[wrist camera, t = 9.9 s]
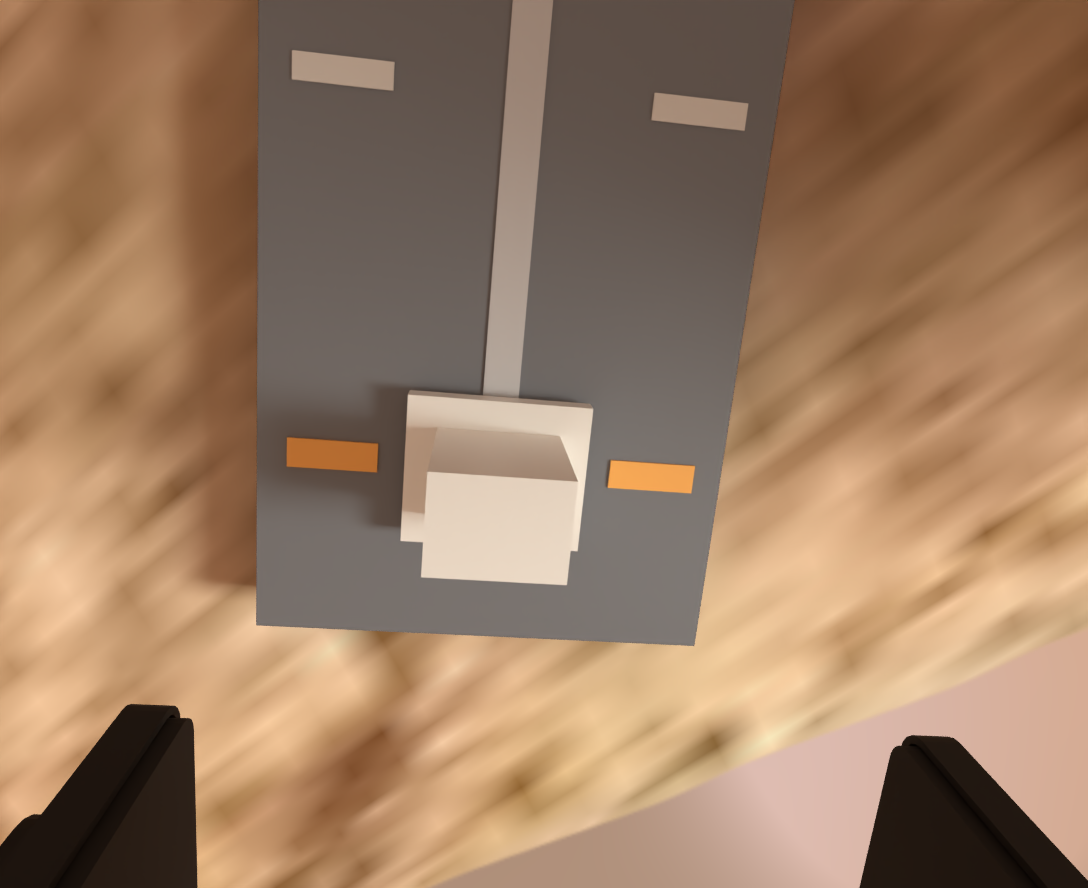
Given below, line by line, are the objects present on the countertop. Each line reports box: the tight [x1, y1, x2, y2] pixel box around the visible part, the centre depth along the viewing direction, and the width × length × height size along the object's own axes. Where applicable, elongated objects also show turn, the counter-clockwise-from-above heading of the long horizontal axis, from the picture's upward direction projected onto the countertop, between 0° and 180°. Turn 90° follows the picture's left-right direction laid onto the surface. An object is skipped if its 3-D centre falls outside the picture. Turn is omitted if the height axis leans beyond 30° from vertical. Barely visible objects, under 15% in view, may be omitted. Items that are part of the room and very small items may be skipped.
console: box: [256, 0, 795, 646], centre depth 27 cm, size 16×25×3 cm, turn 175°
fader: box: [400, 390, 593, 585], centre depth 24 cm, size 6×5×6 cm
